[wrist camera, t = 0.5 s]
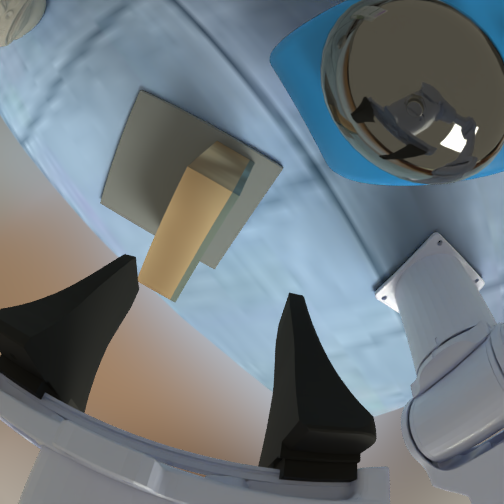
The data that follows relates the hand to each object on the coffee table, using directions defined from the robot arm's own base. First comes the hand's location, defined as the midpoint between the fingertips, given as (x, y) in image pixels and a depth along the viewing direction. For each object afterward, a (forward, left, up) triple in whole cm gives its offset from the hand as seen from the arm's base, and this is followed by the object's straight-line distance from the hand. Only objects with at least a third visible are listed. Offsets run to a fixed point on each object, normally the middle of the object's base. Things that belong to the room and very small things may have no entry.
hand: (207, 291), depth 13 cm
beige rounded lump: (+25, -7, -10) cm, 28 cm away
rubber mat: (+5, +1, -10) cm, 11 cm away
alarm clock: (-2, -14, -10) cm, 18 cm away
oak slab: (+2, +1, -10) cm, 10 cm away
